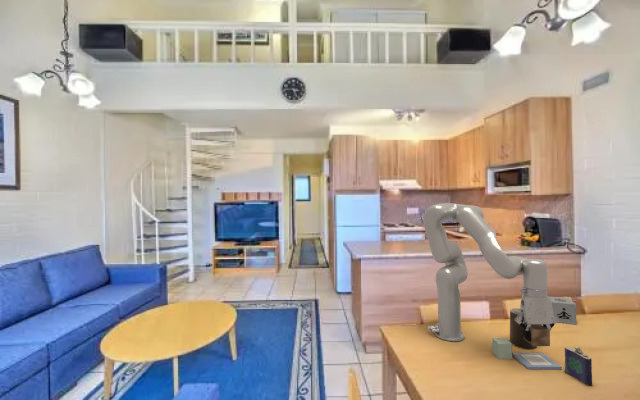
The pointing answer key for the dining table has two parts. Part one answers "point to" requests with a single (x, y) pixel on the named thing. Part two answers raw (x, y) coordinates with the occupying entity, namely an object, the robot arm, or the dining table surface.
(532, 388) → the dining table surface
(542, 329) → the walnut block
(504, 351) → the green block
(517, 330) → the pillar candle
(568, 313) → the icon cube
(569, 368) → the flask
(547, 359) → the blueprint board
